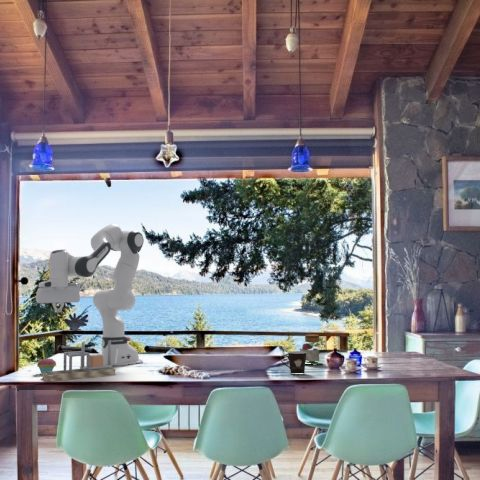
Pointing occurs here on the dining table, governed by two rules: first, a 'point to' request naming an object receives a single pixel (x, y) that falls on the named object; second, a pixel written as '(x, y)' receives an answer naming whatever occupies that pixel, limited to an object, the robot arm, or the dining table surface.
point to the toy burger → (311, 354)
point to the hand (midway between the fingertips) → (58, 312)
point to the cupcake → (46, 364)
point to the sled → (96, 359)
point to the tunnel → (73, 354)
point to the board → (77, 374)
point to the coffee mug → (296, 361)
